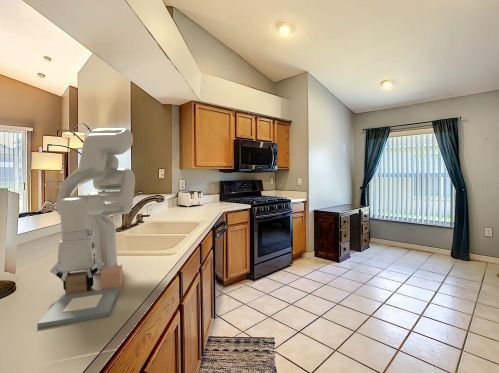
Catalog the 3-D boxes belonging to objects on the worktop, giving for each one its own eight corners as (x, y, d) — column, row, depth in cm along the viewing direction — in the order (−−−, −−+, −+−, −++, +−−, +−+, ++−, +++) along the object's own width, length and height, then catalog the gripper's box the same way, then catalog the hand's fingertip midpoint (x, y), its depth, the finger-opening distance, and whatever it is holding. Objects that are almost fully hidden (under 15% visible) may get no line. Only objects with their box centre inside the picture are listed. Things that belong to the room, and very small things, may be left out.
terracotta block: (105, 284, 91) (104, 267, 90) (123, 282, 92) (122, 265, 92) (101, 291, 85) (100, 273, 85) (120, 288, 87) (119, 270, 87)
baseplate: (62, 299, 80) (62, 294, 80) (119, 290, 85) (119, 286, 85) (37, 328, 65) (37, 322, 65) (108, 316, 70) (108, 311, 69)
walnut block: (72, 288, 88) (71, 271, 87) (91, 286, 89) (90, 269, 89) (66, 295, 82) (65, 277, 82) (86, 293, 84) (85, 274, 84)
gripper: (107, 230, 91) (110, 281, 92) (49, 235, 86) (53, 289, 87) (102, 235, 84) (105, 290, 85) (39, 240, 79) (42, 299, 80)
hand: (79, 289), depth 86 cm, fingers closed on walnut block, 5 cm apart
